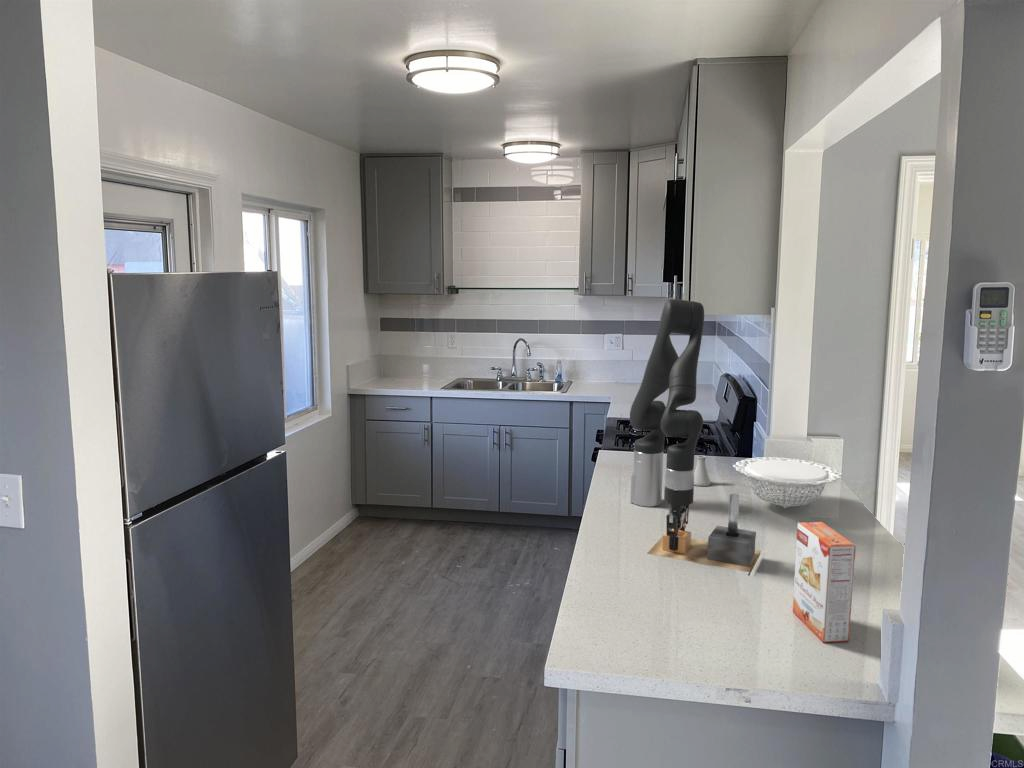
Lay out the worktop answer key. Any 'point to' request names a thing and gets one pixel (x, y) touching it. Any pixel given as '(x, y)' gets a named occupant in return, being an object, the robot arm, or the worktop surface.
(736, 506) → the steel shaft
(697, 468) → the flask
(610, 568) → the worktop surface
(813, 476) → the white openwork bowl
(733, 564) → the bearing block
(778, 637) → the worktop surface
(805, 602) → the cracker box
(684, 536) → the block
